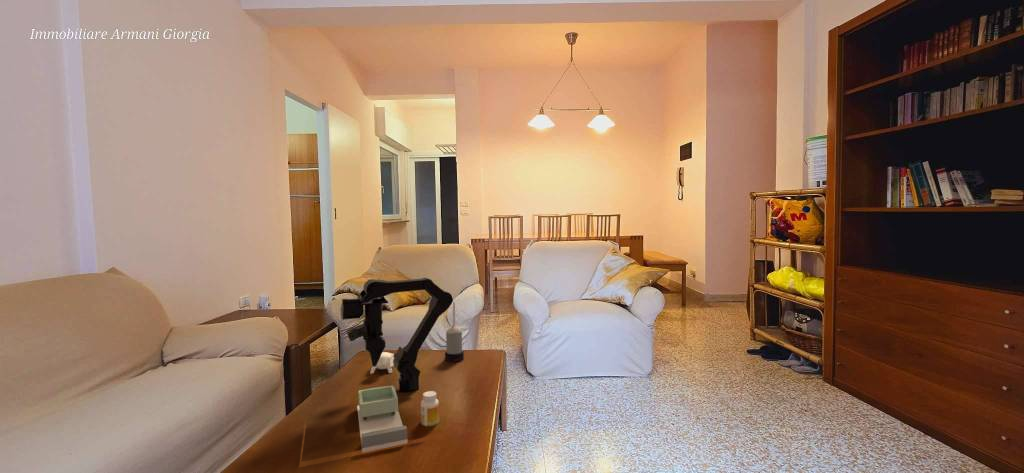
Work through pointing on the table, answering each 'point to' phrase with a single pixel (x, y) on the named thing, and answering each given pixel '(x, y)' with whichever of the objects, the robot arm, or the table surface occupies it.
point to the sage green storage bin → (378, 401)
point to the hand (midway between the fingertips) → (373, 361)
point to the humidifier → (454, 342)
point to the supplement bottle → (429, 409)
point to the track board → (378, 426)
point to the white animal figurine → (384, 362)
